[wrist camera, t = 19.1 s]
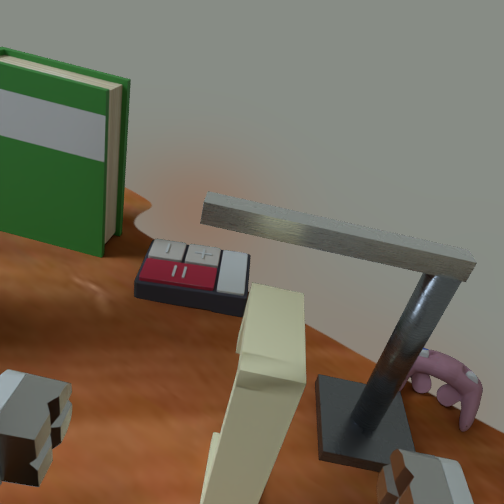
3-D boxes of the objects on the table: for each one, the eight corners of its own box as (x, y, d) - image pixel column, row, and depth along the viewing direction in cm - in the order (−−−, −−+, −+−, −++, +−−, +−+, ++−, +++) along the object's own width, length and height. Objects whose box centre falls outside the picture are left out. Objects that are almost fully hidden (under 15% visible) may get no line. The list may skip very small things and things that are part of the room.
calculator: (152, 234, 67) (251, 249, 67) (151, 258, 69) (247, 272, 70) (133, 277, 57) (248, 294, 58) (133, 303, 60) (243, 318, 60)
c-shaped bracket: (194, 535, 37) (239, 369, 26) (211, 441, 44) (252, 282, 33) (241, 544, 37) (306, 383, 26) (250, 449, 44) (303, 293, 34)
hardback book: (121, 233, 71) (130, 79, 58) (101, 257, 65) (106, 90, 52) (16, 205, 72) (2, 46, 59) (-14, 227, 65) (-37, 54, 53)
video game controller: (463, 423, 55) (489, 373, 54) (469, 437, 50) (497, 383, 50) (387, 383, 58) (410, 335, 57) (386, 394, 53) (411, 342, 53)
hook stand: (162, 428, 44) (194, 226, 32) (183, 355, 53) (215, 173, 40) (414, 479, 45) (541, 302, 33) (395, 399, 54) (490, 235, 41)
